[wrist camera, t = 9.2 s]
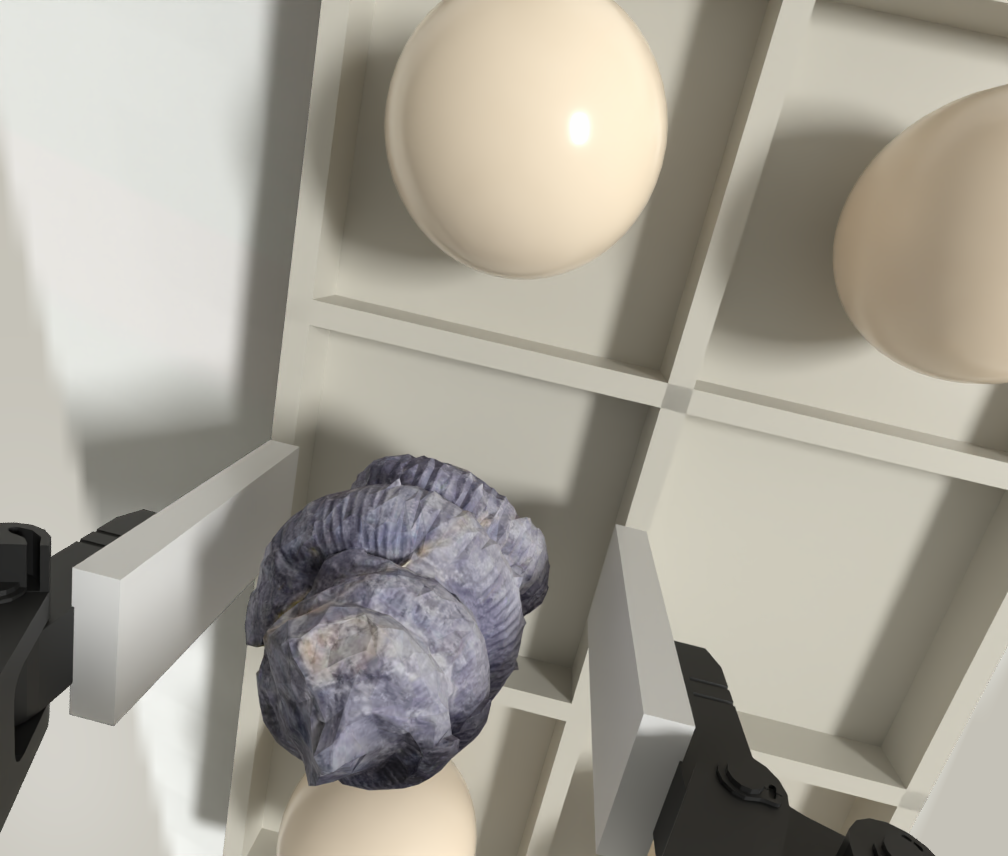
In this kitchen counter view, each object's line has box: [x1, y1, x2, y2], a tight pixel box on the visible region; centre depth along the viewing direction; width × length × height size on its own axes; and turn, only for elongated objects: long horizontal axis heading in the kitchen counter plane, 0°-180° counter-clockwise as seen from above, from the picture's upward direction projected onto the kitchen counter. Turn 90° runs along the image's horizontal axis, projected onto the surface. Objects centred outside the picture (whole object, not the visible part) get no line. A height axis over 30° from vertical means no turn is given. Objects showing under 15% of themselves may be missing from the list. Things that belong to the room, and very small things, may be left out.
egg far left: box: [276, 760, 477, 856], centre depth 18 cm, size 5×5×5 cm
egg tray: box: [223, 0, 1008, 856], centre depth 17 cm, size 28×19×2 cm
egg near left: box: [384, 0, 668, 280], centre depth 13 cm, size 5×5×5 cm
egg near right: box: [833, 84, 1008, 384], centre depth 12 cm, size 5×5×5 cm
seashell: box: [245, 454, 550, 790], centre depth 13 cm, size 5×5×10 cm
